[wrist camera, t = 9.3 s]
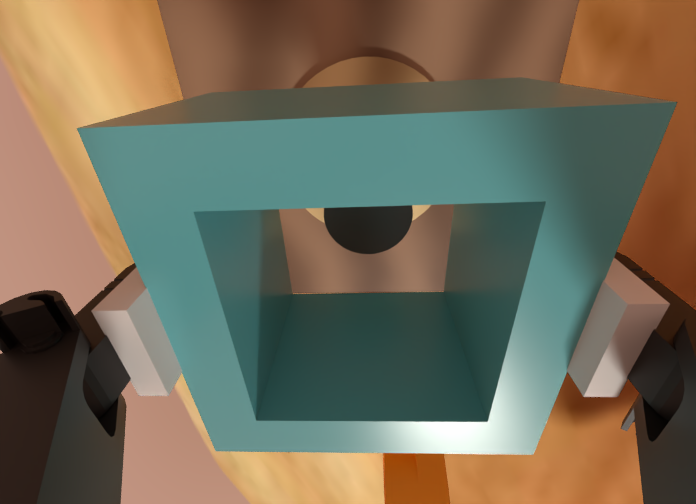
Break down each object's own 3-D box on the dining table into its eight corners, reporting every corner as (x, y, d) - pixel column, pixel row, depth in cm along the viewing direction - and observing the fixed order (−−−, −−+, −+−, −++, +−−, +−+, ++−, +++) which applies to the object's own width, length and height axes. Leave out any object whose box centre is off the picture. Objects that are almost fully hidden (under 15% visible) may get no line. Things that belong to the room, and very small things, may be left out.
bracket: (353, 353, 33) (348, 489, 23) (428, 352, 33) (457, 491, 22) (357, 420, 39) (355, 554, 28) (422, 420, 38) (443, 557, 28)
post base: (583, -84, 17) (856, -251, 8) (502, 279, 28) (572, 394, 19) (157, -52, 18) (-63, -161, 9) (241, 283, 29) (183, 392, 20)
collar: (521, 77, 10) (677, 102, 5) (476, 319, 15) (533, 454, 10) (211, 92, 11) (77, 128, 6) (263, 321, 16) (215, 451, 11)
